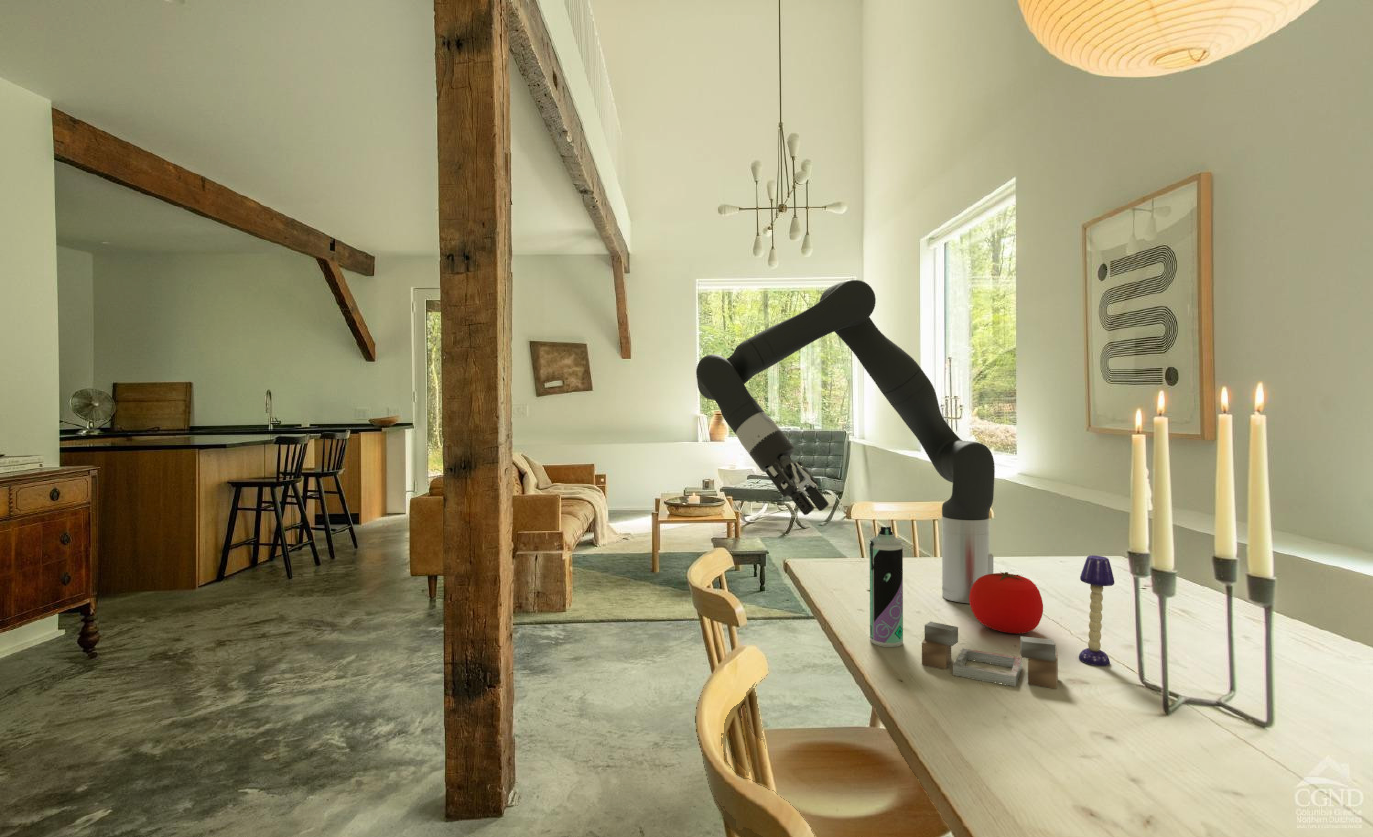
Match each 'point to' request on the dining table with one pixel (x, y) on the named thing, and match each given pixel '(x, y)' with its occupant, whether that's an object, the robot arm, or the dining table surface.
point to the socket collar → (988, 674)
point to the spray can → (886, 589)
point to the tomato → (1006, 602)
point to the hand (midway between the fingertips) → (817, 510)
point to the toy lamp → (1096, 606)
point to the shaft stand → (1034, 649)
